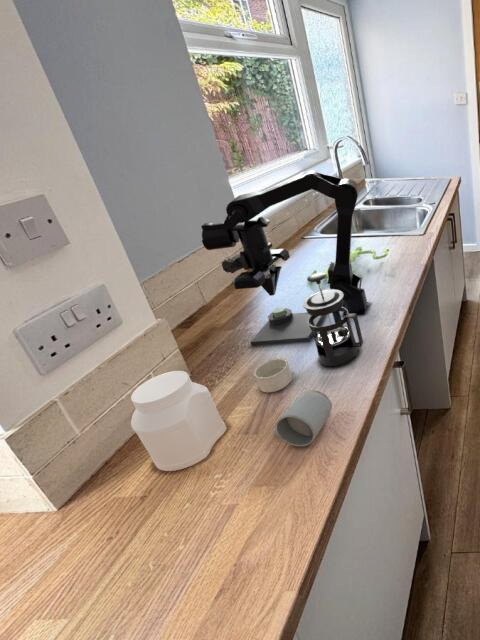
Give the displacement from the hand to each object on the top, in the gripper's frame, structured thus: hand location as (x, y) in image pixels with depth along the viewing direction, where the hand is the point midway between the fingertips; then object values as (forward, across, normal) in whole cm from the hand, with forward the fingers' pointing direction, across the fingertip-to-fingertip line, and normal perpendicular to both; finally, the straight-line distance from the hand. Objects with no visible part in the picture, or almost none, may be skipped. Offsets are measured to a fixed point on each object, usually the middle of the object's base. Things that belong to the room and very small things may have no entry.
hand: (272, 294), depth 112 cm
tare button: (+7, 0, 0) cm, 7 cm away
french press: (+10, +18, +22) cm, 30 cm away
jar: (+10, +42, +1) cm, 43 cm away
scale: (+10, +4, +4) cm, 11 cm away
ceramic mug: (+10, +41, +22) cm, 47 cm away
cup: (+10, +26, +10) cm, 29 cm away
